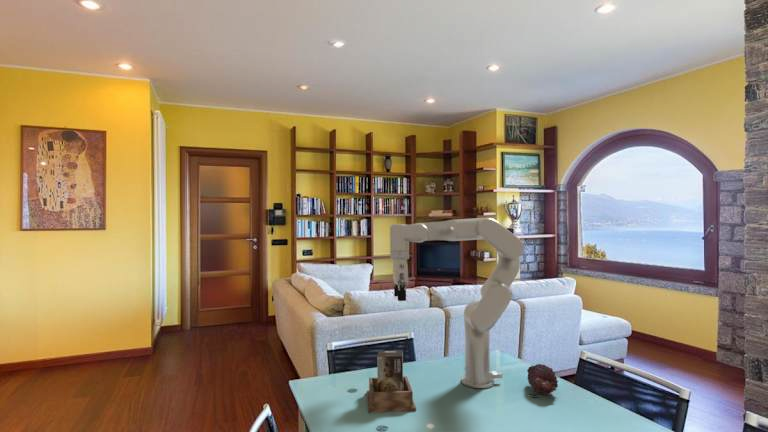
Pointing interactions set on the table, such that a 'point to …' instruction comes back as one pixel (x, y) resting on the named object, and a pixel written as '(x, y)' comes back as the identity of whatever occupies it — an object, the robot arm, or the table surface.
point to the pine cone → (542, 379)
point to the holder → (389, 398)
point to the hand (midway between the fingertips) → (400, 298)
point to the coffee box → (390, 371)
